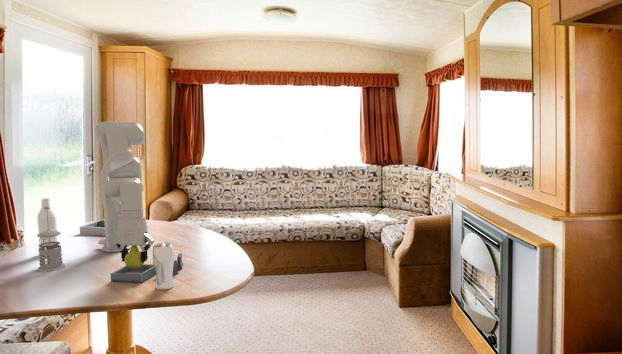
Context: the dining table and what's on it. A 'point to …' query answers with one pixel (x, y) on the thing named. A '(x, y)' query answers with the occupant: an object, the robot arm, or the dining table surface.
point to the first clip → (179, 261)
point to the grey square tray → (133, 274)
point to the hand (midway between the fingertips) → (134, 260)
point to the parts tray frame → (92, 229)
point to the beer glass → (163, 265)
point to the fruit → (133, 258)
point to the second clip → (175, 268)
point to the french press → (50, 251)
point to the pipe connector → (101, 224)
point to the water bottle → (43, 221)
